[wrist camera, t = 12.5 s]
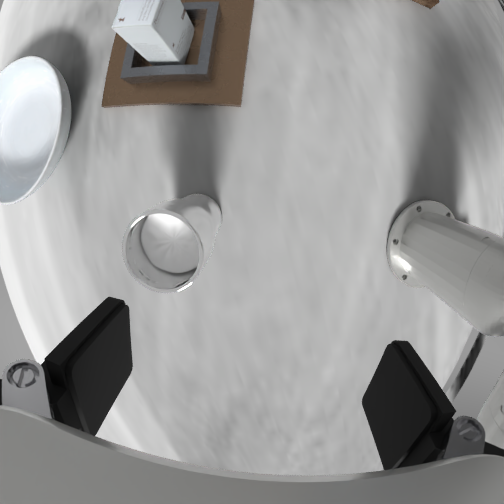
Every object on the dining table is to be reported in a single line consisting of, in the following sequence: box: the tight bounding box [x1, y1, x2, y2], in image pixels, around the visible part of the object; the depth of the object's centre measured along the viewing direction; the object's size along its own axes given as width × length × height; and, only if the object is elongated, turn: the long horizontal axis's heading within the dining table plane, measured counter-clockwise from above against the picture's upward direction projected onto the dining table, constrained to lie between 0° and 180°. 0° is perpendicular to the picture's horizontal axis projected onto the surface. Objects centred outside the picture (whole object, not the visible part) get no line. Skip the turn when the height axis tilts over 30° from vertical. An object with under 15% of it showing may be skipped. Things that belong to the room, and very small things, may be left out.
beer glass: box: [122, 194, 222, 293], centre depth 28 cm, size 7×7×15 cm
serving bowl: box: [0, 56, 71, 205], centre depth 28 cm, size 21×21×7 cm
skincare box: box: [112, 0, 194, 66], centre depth 22 cm, size 6×4×12 cm
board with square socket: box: [102, 0, 254, 108], centre depth 27 cm, size 18×16×4 cm
